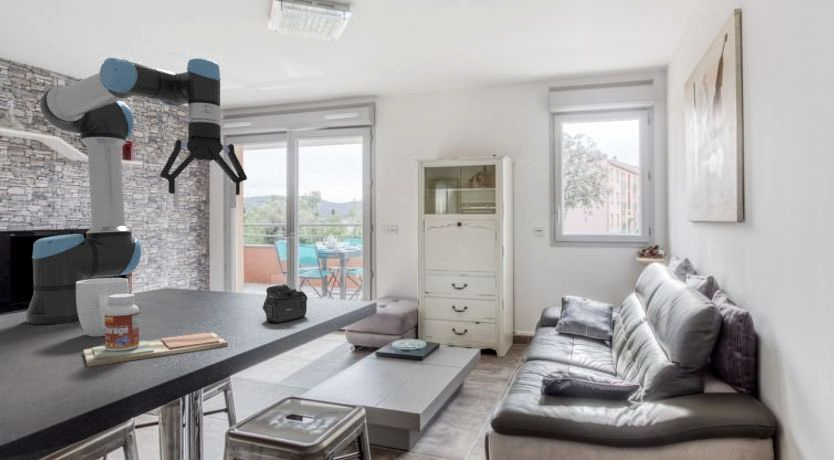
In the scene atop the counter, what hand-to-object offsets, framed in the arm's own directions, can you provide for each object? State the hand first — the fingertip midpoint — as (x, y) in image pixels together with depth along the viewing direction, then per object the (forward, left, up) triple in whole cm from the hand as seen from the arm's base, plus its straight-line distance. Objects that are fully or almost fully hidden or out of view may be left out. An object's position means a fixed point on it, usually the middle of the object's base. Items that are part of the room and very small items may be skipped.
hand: (205, 207), depth 128 cm
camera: (0, +20, -31) cm, 37 cm away
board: (+15, -14, -31) cm, 37 cm away
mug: (-8, -22, -31) cm, 39 cm away
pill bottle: (+14, -20, -30) cm, 39 cm away
